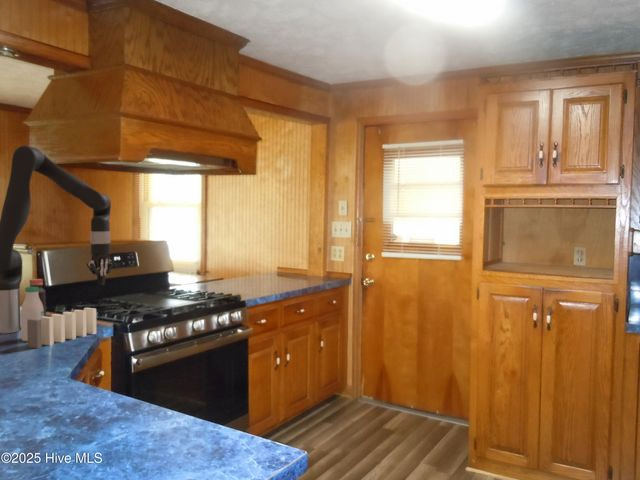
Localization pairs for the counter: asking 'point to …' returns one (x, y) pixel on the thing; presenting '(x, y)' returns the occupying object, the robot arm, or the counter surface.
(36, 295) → the milk bottle
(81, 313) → the domino
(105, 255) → the robot arm
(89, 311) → the domino
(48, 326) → the domino
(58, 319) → the domino
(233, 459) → the counter surface
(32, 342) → the domino
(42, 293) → the vinegar
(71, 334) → the domino
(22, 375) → the counter surface
